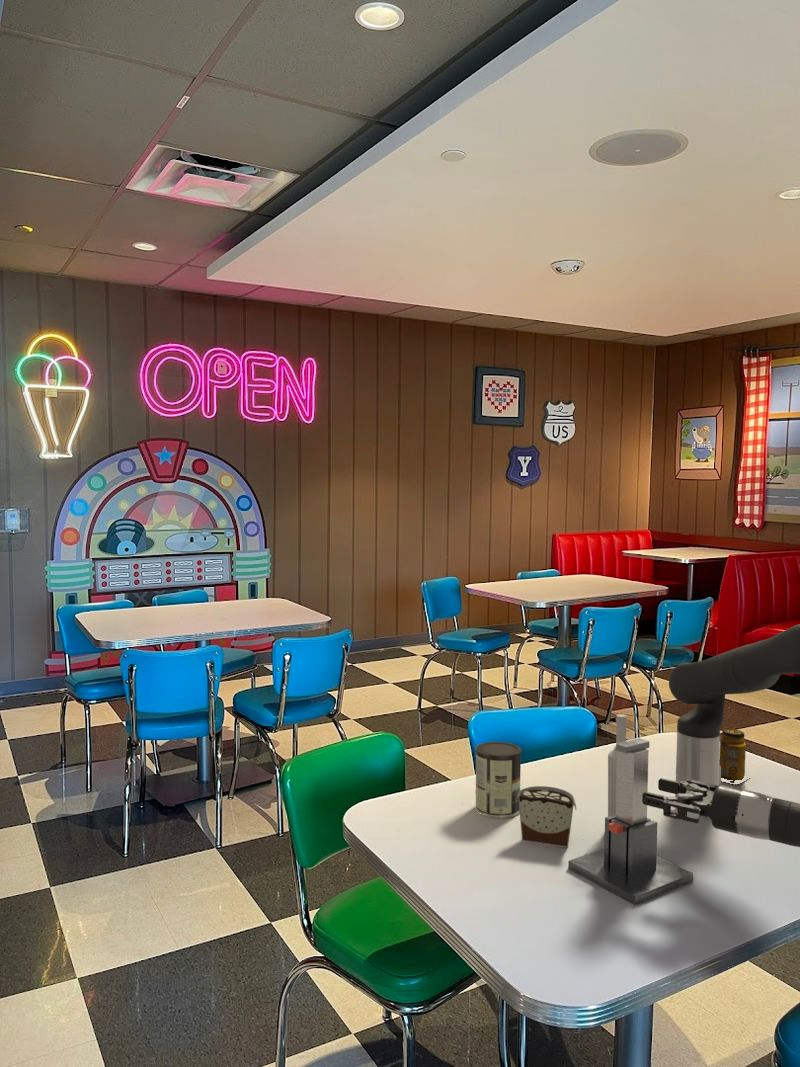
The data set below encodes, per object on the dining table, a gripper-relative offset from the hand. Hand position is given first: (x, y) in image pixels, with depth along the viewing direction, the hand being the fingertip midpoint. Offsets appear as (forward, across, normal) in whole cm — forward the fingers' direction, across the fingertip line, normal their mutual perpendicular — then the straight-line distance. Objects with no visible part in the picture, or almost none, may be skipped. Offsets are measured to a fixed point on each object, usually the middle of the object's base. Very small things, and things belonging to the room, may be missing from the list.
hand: (651, 790), depth 146 cm
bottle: (+12, -17, +17) cm, 27 cm away
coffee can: (+39, -12, +17) cm, 44 cm away
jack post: (+4, 0, +15) cm, 15 cm away
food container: (+23, -5, +17) cm, 29 cm away
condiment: (+2, -65, +17) cm, 68 cm away
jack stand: (+4, 0, +17) cm, 17 cm away
